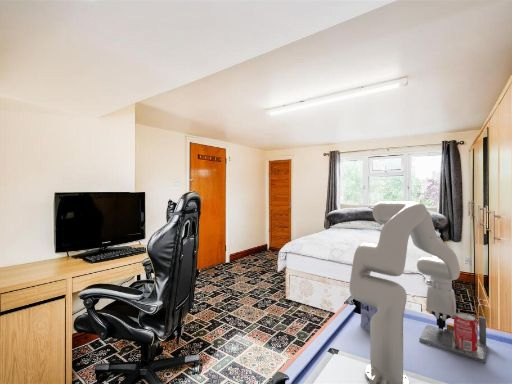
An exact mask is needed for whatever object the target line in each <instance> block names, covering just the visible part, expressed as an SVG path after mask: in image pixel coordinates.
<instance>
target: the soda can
mask: <svg viewBox="0 0 512 384" xmlns="http://www.w3.org/2000/svg"><path fill="white" fill-rule="evenodd" d="M453 324H454V342H455V345H456V346H457V347H458V348H460V349H461V350H464V351H467V352H474V351H477V348H478V339H479V329H478V328H479V327H478V326H479V324H478V322H477V320H476V317H475V316H474V315H471V314H469V313H464V312H456V316H455V318H453Z"/></svg>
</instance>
